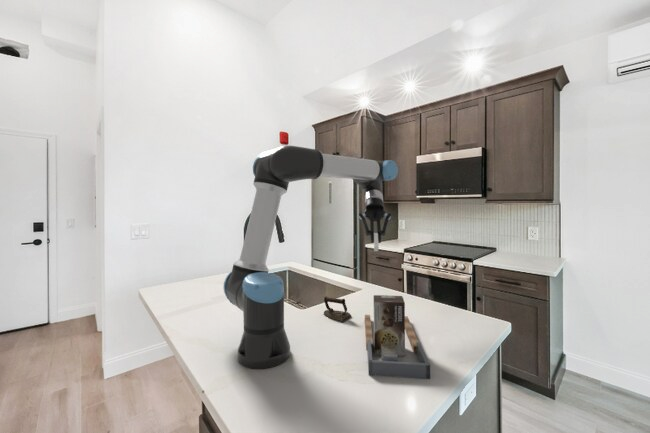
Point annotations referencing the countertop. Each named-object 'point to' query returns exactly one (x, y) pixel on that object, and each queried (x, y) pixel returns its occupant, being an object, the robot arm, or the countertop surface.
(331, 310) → the clothes iron
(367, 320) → the slot rails
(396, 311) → the cookie box
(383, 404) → the countertop surface
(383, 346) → the chip
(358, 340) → the countertop surface
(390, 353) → the chip
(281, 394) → the countertop surface
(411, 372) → the tray
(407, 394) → the countertop surface
